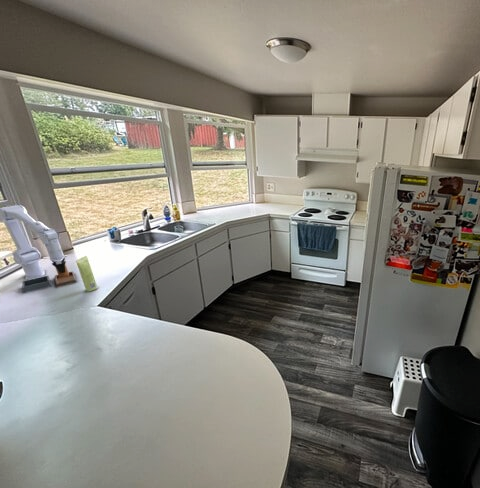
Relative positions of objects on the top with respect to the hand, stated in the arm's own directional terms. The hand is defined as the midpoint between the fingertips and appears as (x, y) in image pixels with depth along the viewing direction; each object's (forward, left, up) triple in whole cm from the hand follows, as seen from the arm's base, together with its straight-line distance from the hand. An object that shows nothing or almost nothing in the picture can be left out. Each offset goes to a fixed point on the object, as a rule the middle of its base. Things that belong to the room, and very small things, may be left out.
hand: (62, 271), depth 149 cm
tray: (0, 0, -6) cm, 6 cm away
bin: (-1, -12, -6) cm, 13 cm away
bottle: (0, 0, -3) cm, 3 cm away
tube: (+24, +9, -6) cm, 27 cm away
